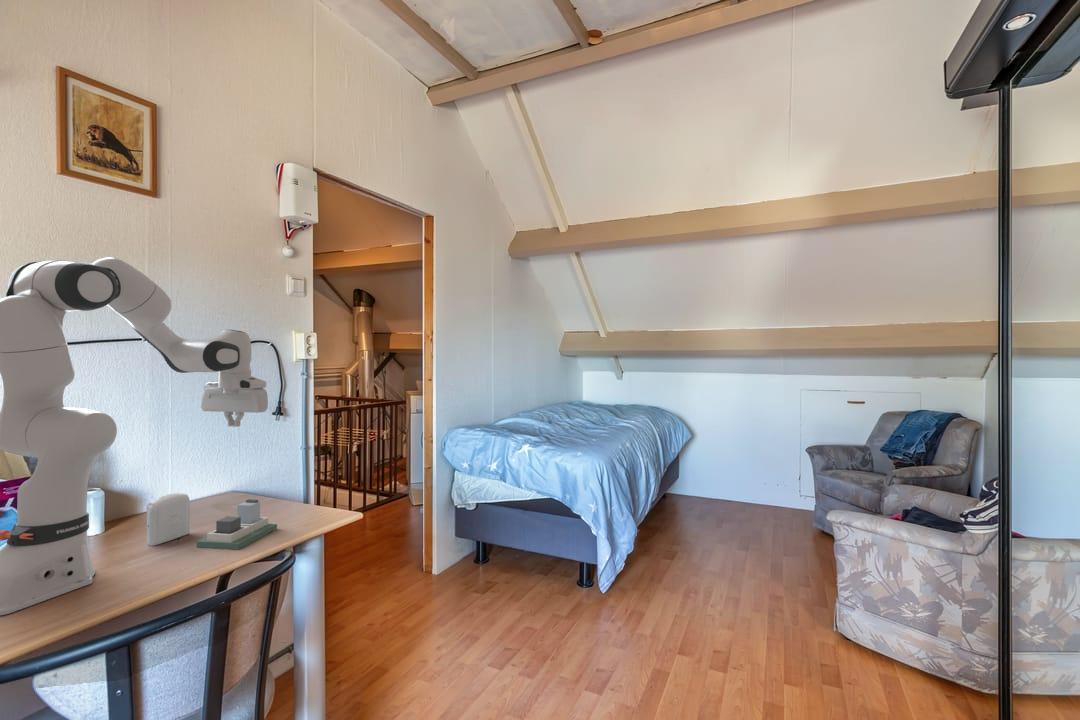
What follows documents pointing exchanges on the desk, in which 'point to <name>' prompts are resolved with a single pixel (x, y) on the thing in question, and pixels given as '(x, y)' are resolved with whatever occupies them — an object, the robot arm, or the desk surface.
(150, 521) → the photo printer
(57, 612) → the desk surface
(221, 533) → the header board
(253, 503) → the plug
